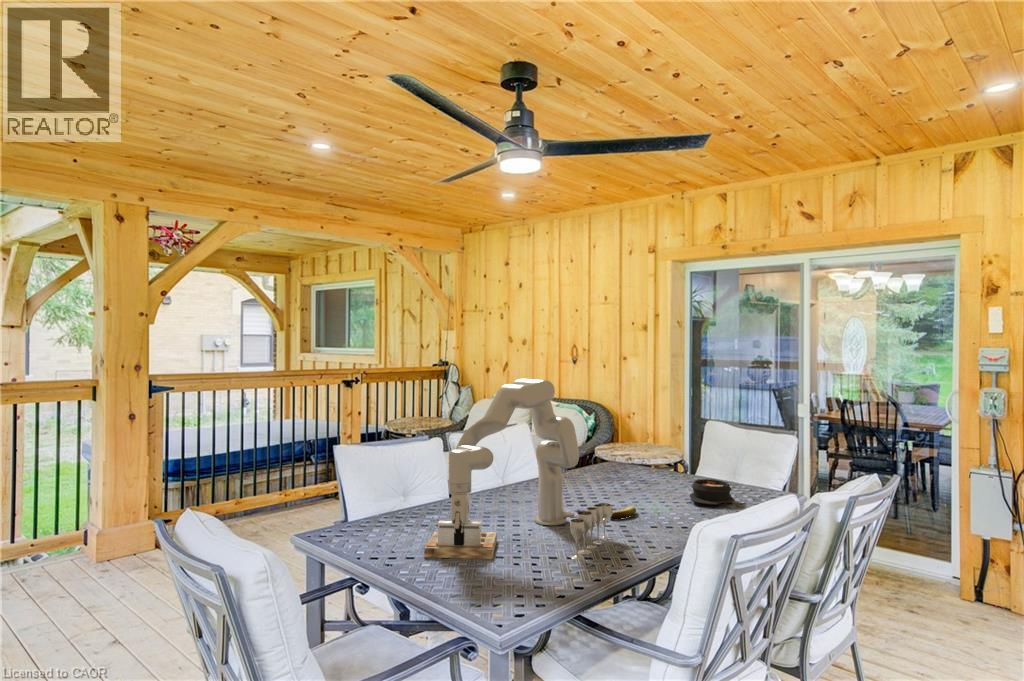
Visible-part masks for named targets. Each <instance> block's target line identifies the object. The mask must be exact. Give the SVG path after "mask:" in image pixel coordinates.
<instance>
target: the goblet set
mask: <svg viewBox="0 0 1024 681" xmlns="http://www.w3.org/2000/svg"><path fill="white" fill-rule="evenodd" d="M613 511H614V510H613V507H612V504H611V503H608V502H601V503H598V504H596V503H595V504H594V505H593V507H591V506H590V507H586V510H581V511H578V512H577V514H576V518H571V520H570V523H569V530H570V534H571V536H572V537H573V539H574V540H575V545H576V554H573V555H570V556H569V558H571V559H572V560H576V561H579V560H580V561H581V560H583V559H584V558H585V556H583V554H587V555H590V554H589V553H591V554H592V551H591V550H590V549H588V548H596V545H594V544H593V531H594V527H595V525H596V528H597V540H594V542H595V543H602V542H603V541H602V540H600V539H599V535H600V534H599V533H600V526H601V523H603V524H602V525H603V535H600V536H601V538H603V539H608V538H609V537H610V536H608V537H606V523H608V522H609V520H610V518H611V516H612V514H613ZM600 522H601V523H600ZM589 531H590V544H588V545H589V546H588V545H587V546H588V548H587V549H586V537H587V534H588V532H589ZM582 536H583V537H582ZM581 538H583V549H579V542H580V539H581ZM601 541H602V542H601ZM593 545H594V546H593ZM578 549H579V550H578ZM596 549H597V548H596ZM590 551H591V552H590ZM579 553H580V554H579Z"/></svg>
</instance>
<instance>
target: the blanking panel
mask: <svg viewBox="0 0 1024 681" xmlns="http://www.w3.org/2000/svg"><path fill="white" fill-rule="evenodd" d="M460 523H462V522H460ZM437 531H438V547H467V548H481V532H482V521H469V520H468V522H467V524H466V525H464V524H463V533H464V545H454V524H452V520H439V521H438V522H437Z"/></svg>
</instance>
